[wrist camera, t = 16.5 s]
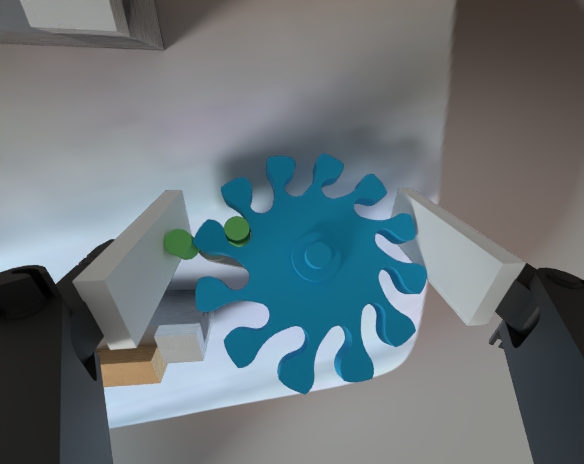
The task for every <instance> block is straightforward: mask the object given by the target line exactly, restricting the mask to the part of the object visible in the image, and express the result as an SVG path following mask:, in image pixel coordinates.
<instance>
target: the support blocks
mask: <svg viewBox="0 0 584 464" xmlns="http://www.w3.org/2000/svg"><path fill="white" fill-rule="evenodd" d="M0 43H8V44H30V45H53V46H76V47H99V48H122V49H144V50H164V48H163V43H162V37H161V32H160V27H159V22H158V17H157V11H156V6H155V1H154V0H0ZM195 292H196V290H180V291H165V293H164V294H163V296H162V298H161V300H160V302H159V304H158V306H157V308H156V310H155V312H154V314H153V316H152V318H151V320H150V322H149V324H148V326H147V328H146V330H145V332H144V334H143V336H142V338H141V340H140V342H139V344H138V346H137V348H129V349H114V350H110V348H109V347H108V345H107V343H106V341H105V339H104V338H103V339H102V340H101V342H100V343H99V345H98V346H97V348H96V349H95V350H96V352H97V353H98V355H99V357H100V364H101V371H102V379H103V387H112V386H126V385H140V384H154V383H161V380H162V378H163V375H164V372H165V370H166V367H167V364H168V363H178V362H194V361H203V360H204V356H205V352H206V348H207V344H208V339H209V335H210V331H211V327H212V323H213V319H214V315H215V314H214V311H210V312H202V311H199V310H197V309H196V300H195Z"/></svg>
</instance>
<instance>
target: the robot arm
mask: <svg viewBox="0 0 584 464" xmlns="http://www.w3.org/2000/svg"><path fill="white" fill-rule="evenodd" d="M400 213H407V214H409V215H411V216H412V219H413V222H414V226H415V238H414V239H413V240H410V241H408V242H405V243H403V244H397V245H398V246H399V247H400V249H401V250H402V251H403V252H404V253H405V254H406V255H407V257H408V258H409V259H410V260H411V261H412V262H413V263H417V264H420V265H422V266H423V267H425V268H426V270H427V280H428V281H429V282H430V283H431V284H432V285H433V287H434V288H435V289H436V290H437V291H438V292H439V293H440V295H441V296H442V297H443V298H444V299H445V300H446V301H447V303H448V304H449V305H450V306H451V307H452V308H453V310H454V311H455V312H456V313H457V314H458V315H459V316H460V318H461V319H462V320H463V321H464V322H465V323H466V325H467V326H471V325H487V324H488V323H489V321H490V319H491V318H492V316H493V315H494V313H495V312H496V313H497V314H498V315H499V316H500V317H501V318H502V319H503V320H502V322H501V324H500V325H499V326H498V328H497V329H496V331H495V332H494V334H493V335H492V337H491V338H490V341H489V344H491V345H493V344H494V343H495V342H496V340H497V339H501V340H502V342H501V343H500V345H499V348H502V349H504V352H505V355H506V359H507V363H508V367H509V371H510V374H511V378H512V382H513V386H514V390H515V393H516V397H517V401H518V405H519V409H520V413H521V416H522V420H523V424H524V428H525V432H526V435H527V439H528V443H529V447H530V450H531V454H532V458H533V462H534V464H584V280H582V279H580V278H578V277H576V276H574V275H572V274H569V273H567V272H564V271H560V270H557V269H552V268H539V269H535V268H534V267H532V266H531V265H529V264H528V263H526V262H525V261H523V260H521V259H520V258H518V257H517V256H515V255H514V254H512V253H510V252H509V251H508V250H506V249H504V248H503V247H501V246H500V245H498V244H496V243H495V242H494V241H492V240H490V239H489V238H488V237H486V236H484V235H483V234H481V233H480V232H478V231H476V230H475V229H473V228H472V227H470V226H469V225H467V224H465V223H464V222H463V221H461V220H460V219H458V218H457V217H455V216H453V215H452V214H450V213H449V212H447V211H446V210H444V209H443V208H441V207H440V206H438V205H437V204H435V203H433V202H432V201H430V200H429V199H427V198H426V197H424V196H423V195H421V194H420V193H418V192H417V191H415V190H414V189H412V188H398V191H397V195H396V199H395V203H394V207H393V211H392V214H391V218H393V217H394V216H396V215H398V214H400ZM175 229H183V230H186V231H187V232H188V233H189V234H190V235H191V230H190V225H189V221H188V216H187V211H186V206H185V202H184V197H183V192H182V190H166V191H165V192H164V193H162V194H161V195H160V196H159V197H158V198H157V199H156V200H155V201H154V202H153V203H152V204H151V205H150V206H149V207H148V208H147V209H146V210H145V211H144V212H143V213H142V214H141V215H140V216H139V217H138V218H137V219H136V220H135V221H134V222H133V223H132V224H131V225H130V226H129V227H128V228H127V229H126V230H125V231H123V232H122V233H121V234H120V235H119V236H118V237H117V238H116V239H110V240H109V241H107V242H105V243H103V244H101V245H99V246H98V247H96V248H95V249H94V250H93V251H92V252H91V253H89V254H88V255H87V258H84V259H83V260H82V261H81V262H80V263H79V265H76V266H75V267H74V268H73V269H72V270H71V271H70V272H69V273H67V274H66V275H65V276H64V277H63V278H62V279H61V280H60V281H59V282H58V283H56V284H55V283H54V281H53V279H52V278H51V276H50V274H49V273H48V271H47V269H46V268H45V267H43V266H39V265H27V266H22V267H17V268H12V269H9V270H6V271H3V272H0V464H113V459H112V451H111V443H110V435H109V427H108V419H107V411H106V403H105V395H104V387H103V379H102V371H101V364H100V357H99V355H98V353H97V352H96V350H95V349H96V348H97V346H98V345H99V343H100V342H101V340H102V339H103V338H104V339H105V341H106V343H107V345H108V347H109V348H110V350H114V349H129V348H137V346H138V344H139V342H140V340H141V338H142V336H143V334H144V332H145V330H146V328H147V326H148V324H149V322H150V320H151V318H152V316H153V314H154V312H155V310H156V308H157V306H158V304H159V302H160V300H161V298H162V296H163V294H164V293H165V291H166V289H167V287H168V285H169V283H170V281H171V279H172V277H173V275H174V273H175V271H176V269H177V267H178V265H179V263H180V261H181V258H179V257H177V256H175V255H173V254H171V253H169V252H168V251H167V250H166V249H165V246H164V239H165V237H166V235H167V234H168V233H169V232H170V231H172V230H175Z"/></svg>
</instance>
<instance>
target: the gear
mask: <svg viewBox="0 0 584 464" xmlns="http://www.w3.org/2000/svg"><path fill="white" fill-rule="evenodd" d="M343 168H344V165H343V163H341V162H340V161H339V160H337V159H336V158H334V157H332V156H329V155H326V154H324V153H323V154H321V155H320V156H319V157H318V159H317V162H316V164H315V166H314V169H313V183H312V185H311V186H310V187H309V189H308V190H307V191H306V192H305V193H304V194H303V195H301V196H298V197H294V196H291V195H289V194H288V193H287V192H286V191H285V189H284V187H285V186H286V185H287V184H288V183H289V182H290V181H291V180H292V177H293V174H294V170H295V162H294V160H293V158H290V157H285V156H275V157H269V158H268V160H267V168H266V175H267V178H268V180H269V181H270V183H271V185H272V187H273V191H274V202H273V206H272V208H271V209H270V210H269V211H268V212H266V213H257V212H255V211H253V210H252V209H251V207H250V206H251V202H252V186H251V183H250V182H249V180H248V179H247V178H245V177H240V178H237V179H234V180H232V181H230V182H228V183H227V184H225V185H224V186H222V187H221V192H222V195H223V198H224V201H225V203H226V204H227V205H228V206H229V207H230V208H232V209H234V210H236V211H237V212H238V213H240V214H241V216H242V217H239V216H235V217H232V218H230V219H229V220H227V222H226V223H225V226H224V228H223V227H222V225H221V224H220V223H219V222H217V221H215V220H207V221H206V222H205V223H203V225H202V226H201V227H200V228H199V230H198V232H197V233H196V235H195V238H194V237H193V236H192V235H190V234H189V233H188V232H187V231H186V230H183V229H175V230H172V231H170V232H169V233H168V234H167V235H166V237H165V239H164V246H165V249H166V250H167V251H168V252H169V253H171V254H173V255H175V256H177V257H179V258H181V259H185V260H188V259H192V258H194V257H195V256H196V255H197V254H198V252H199V253H200V255H201V256H203V257H204V258H205V259H207V260H208V261H210V262H214V263H219V264H224V265H229V266H234V267H239V268H244V269H247V271H248V272H249V275H250V277H249V282H248V284H247V285H246V286H245V287H244V288H243V289H240V290H232V289H230V288H229V287H228V286H227V285H226V284H225V283H223V282H222V281H221V280H219V279H217V278H214V277H203V278H201V279H199V280H198V283H197V286H196V292H195V300H196V309H197V310H199V311H202V312H210V311H214V310H217V309H219V308H220V307H222V306H224V305H226V304H228V303H231V302H235V301H242V300H244V301H252V302H257V303H261V304H264V305H265V306H266V307H267V308H268V310H269V315H270V316H269V320H268V322H267V324H266V325H265V326H263V327H262V328H258V329H254V328H249V327H238V328H235V329H234V330H232V331H231V332H230V333H229V334H228V335H227V336H226V338H225V339H224V344H225V348H226V350H227V353H228V355H229V356H230V358H231V359H232V361H233V362H234V363H235V365H236V366H237V367H238V368H243V367H245V366H248V365H249V364H250V363H251V362H252V361H253V360H254V359H255V357H256V355H257V353H258V351H259V349H260V348H261V347H262V345H263V344H264V343H265V342H266V341H267V340H268V339H269V338H270V337H272V336H273V335H274V334H276V333H278V332H280V331H282V330H284V329H287V328H289V327H293V326H299V327H301V328H302V329H303V331H304V333H305V341H304V344H303V345H302V347H301V348H299V349H298V350H296V351H293V352H291V353H288V354H287V355H285V356H284V357H283V358H282V359H281V360H280V362H279V365H278V370H277V373H278V377H279V380H280V381H281V382H282V383H283V384H284V385H285V386H287V387H288V388H290V389H292V390H294V391H297V392H300V393H303V394H306V393H308V392H309V391H310V389H311V388H312V385H313V383H314V361H315V356H316V352H317V350H318V347H319V345H320V343H321V342H322V340H323V338H324V337H325V336H326V334H327V333H328V332H329V330H330V329H331V328H332V327H334V326H340V327H342V329H343V331H344V333H345V341H344V343H343V345H342V347H341V348H340V349H339V351H338V352H337V354H336V356H335V361H334V366H335V370H336V372H337V374H338V375H339V376H340V377H341V378H342V379H343V380H344V381H347V382H361V381H365V380H369V379H372V377H373V374H374V367H373V363H372V360H371V359H370V357H369V355H368V354H367V352H366V350H365V347H364V345H363V341H362V337H361V316H362V310H363V308H364V307H365V306H366V305H367V304H371V305H372V306H373V307H374V308H375V310H376V315H377V318H376V332H377V335H378V337H379V338H380V339H381V340H382V341H383V342H384V343H386V344H389V345H392V346H394V347H397V346H400V345H402V344H403V343H405V342H406V341H407V340H408V339H409V338H410V337H411V336H412V335H413V334H414V333H415V331H416V330H415V326H414V324H413V322H412V321H411V319H410V318H408V317H407V316H406V315H404V314H402V313H400V312H399V311H398V310H396V309H395V308H394V307H393V306H392V305H391V304H390V302H389V301H388V299H387V298H386V296H385V294H384V292H383V290H382V288H381V285H380V283H379V278H378V276H379V273H380V271H381V270H385V271H386V272H387V273H388V274H389V275H390V277H391V279H392V282H393V284H394V286H395V288H396V289H397V290H398V291H399V292H401V293H404V294H420V293H421V292H422V290H423V288H424V286H425V283H426V279H427V270H426V268H425V267H423V266H422V265H420V264H417V263H404V262H401V261H397V260H395V259H393V258H391V257H390V256H389V255H387V254H386V253H385V252H384V251H382V250H381V249H380V248H379V247H378V246H377V244H376V242H375V234H376V233H378V234H381V235H382V236H384V237H385V238H386V239H387V240H388V241H390V242H391V243H393V244H403V243H405V242H408V241H410V240H413V239H414V238H415V226H414V222H413V219H412V216H411V215H409V214H407V213H400V214H398V215H396V216H394V217H393V218H390V219H387V220H371V219H366V218H363V217H360V216H359V215H358V214H357V213H356V212H355V210H354V204H361V205H366V206H372V205H374V204H376V203H377V202H378V201H380V200H381V199H382V198H383V197H384V196H385V195H386V194H387V191H386V189H385V187H384V185H383V184H382V183H381V181H380V180H379V179H378V178H377V177H376V176H375V175H374V174H369V175H367V176H365V177H364V178H363V179H362V180H361V182H360V183H359V184H358V185H357V186H356V188H355V190H354V191H353V192H352V193H350V194H348V195H346V196H343V197H339V198H336V199H331V198H328V197H326V196H325V195H324V194H323V192H322V189H321V187H324V186H327V185H331V184H333V183H334V182H336V180H337V179H338V177H339V176H340V174H341V173H342V171H343ZM250 232H251V234H250Z"/></svg>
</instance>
